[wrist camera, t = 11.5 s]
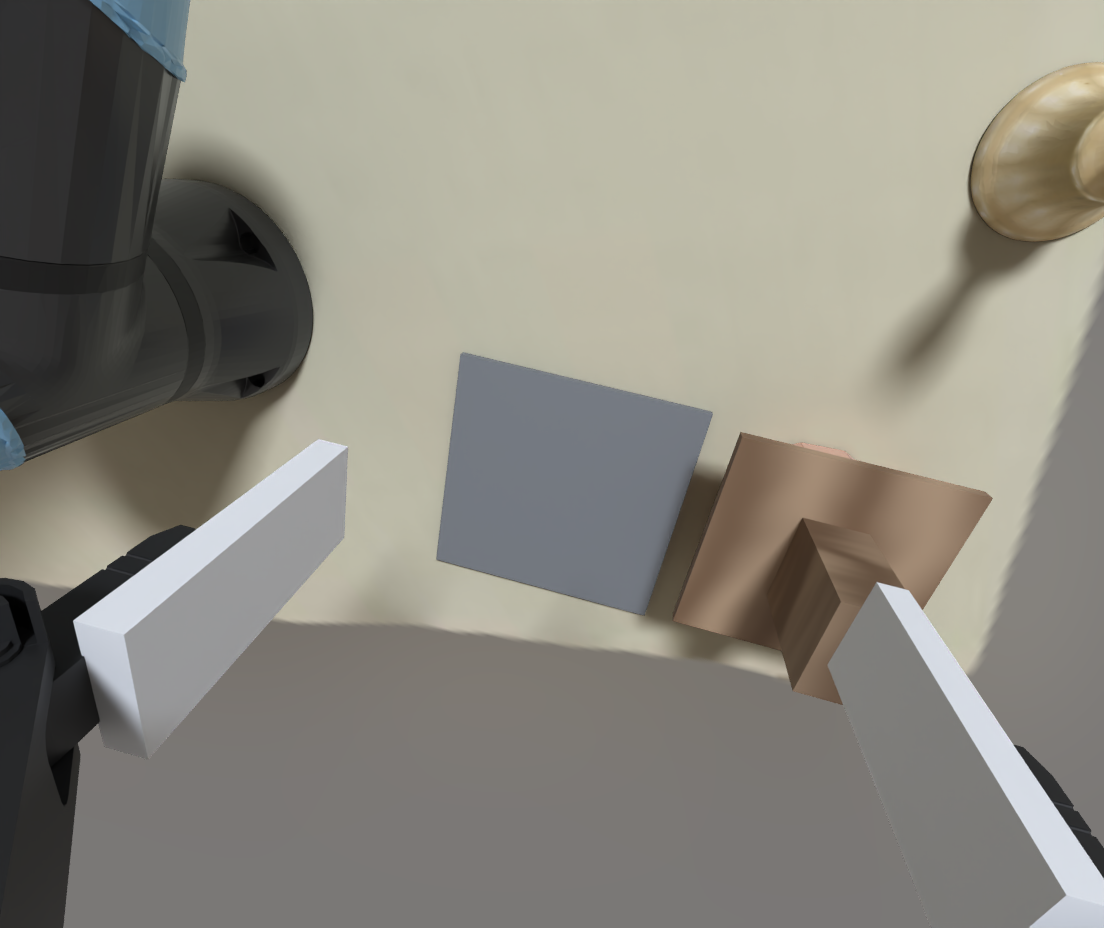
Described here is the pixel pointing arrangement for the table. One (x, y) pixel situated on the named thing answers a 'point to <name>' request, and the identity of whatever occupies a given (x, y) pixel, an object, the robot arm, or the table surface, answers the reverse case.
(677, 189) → the table surface
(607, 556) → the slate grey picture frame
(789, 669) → the walnut lid
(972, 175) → the hand bell
